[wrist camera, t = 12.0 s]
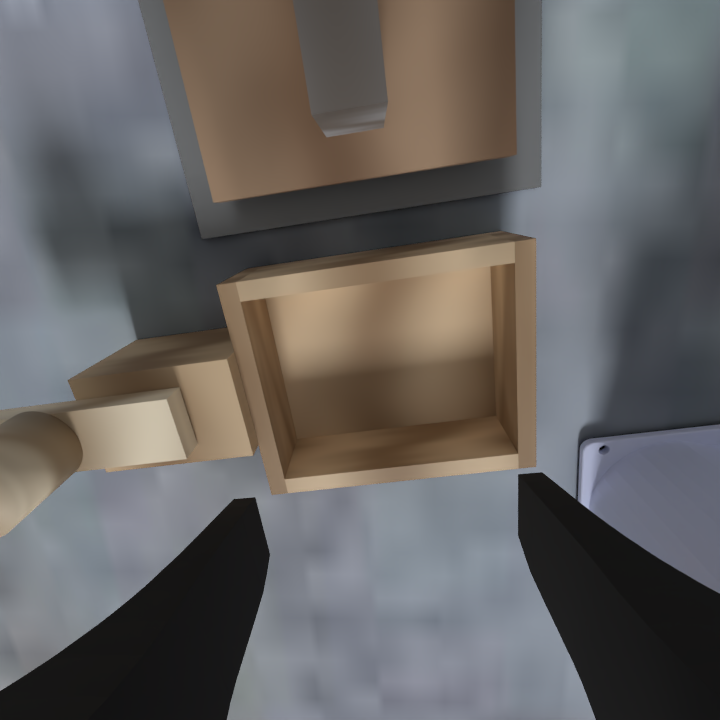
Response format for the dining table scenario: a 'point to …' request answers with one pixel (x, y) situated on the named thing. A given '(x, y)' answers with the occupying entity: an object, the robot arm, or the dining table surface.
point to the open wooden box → (357, 365)
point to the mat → (364, 193)
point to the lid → (343, 88)
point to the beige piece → (85, 443)
